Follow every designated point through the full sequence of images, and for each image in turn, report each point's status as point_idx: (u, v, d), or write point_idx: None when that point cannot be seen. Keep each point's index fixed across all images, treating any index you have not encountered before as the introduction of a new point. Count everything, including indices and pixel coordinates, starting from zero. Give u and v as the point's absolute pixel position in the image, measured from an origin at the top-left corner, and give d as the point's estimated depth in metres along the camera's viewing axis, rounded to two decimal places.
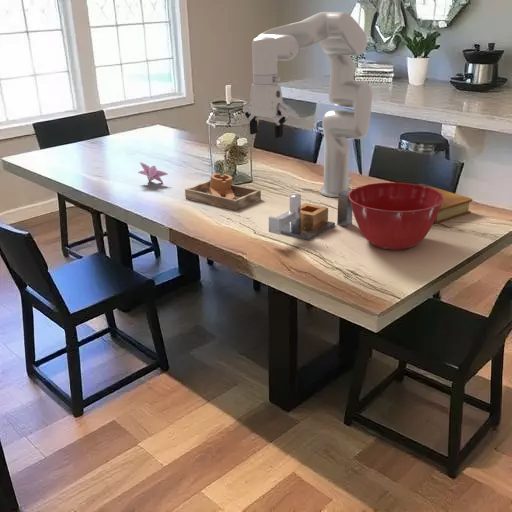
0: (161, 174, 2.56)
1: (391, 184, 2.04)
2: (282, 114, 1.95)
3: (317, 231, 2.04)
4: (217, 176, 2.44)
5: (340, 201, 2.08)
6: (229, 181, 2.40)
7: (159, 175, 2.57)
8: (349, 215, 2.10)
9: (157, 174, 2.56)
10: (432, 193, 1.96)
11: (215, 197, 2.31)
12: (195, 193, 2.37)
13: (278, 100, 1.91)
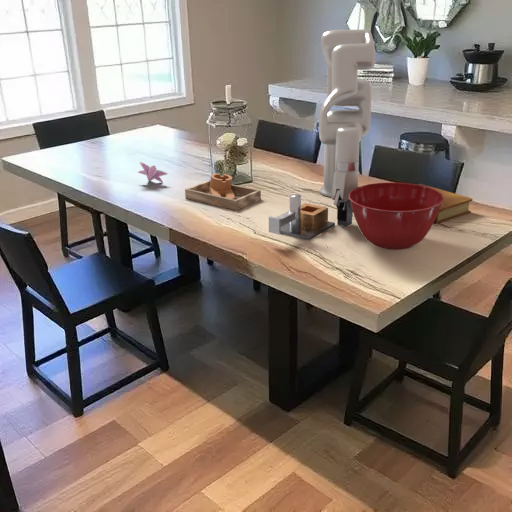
0: (161, 174, 2.57)
1: (391, 184, 2.04)
2: None
3: (317, 231, 2.04)
4: (217, 176, 2.44)
5: None
6: (229, 181, 2.40)
7: (159, 175, 2.57)
8: (349, 215, 2.09)
9: (157, 174, 2.57)
10: (432, 193, 1.96)
11: (215, 197, 2.31)
12: (195, 193, 2.37)
13: None
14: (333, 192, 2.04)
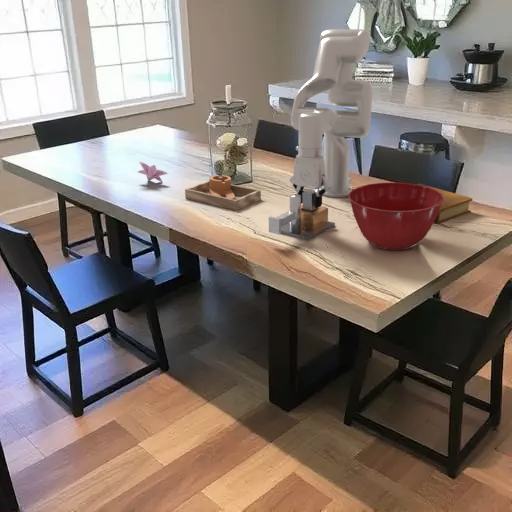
0: (161, 173, 2.57)
1: (391, 184, 2.04)
2: (293, 182, 2.06)
3: (317, 231, 2.04)
4: (216, 178, 2.44)
5: (313, 200, 2.06)
6: (228, 181, 2.40)
7: (159, 174, 2.58)
8: None
9: (157, 173, 2.57)
10: (432, 193, 1.96)
11: (215, 197, 2.31)
12: (195, 193, 2.37)
13: None
14: (320, 180, 2.00)
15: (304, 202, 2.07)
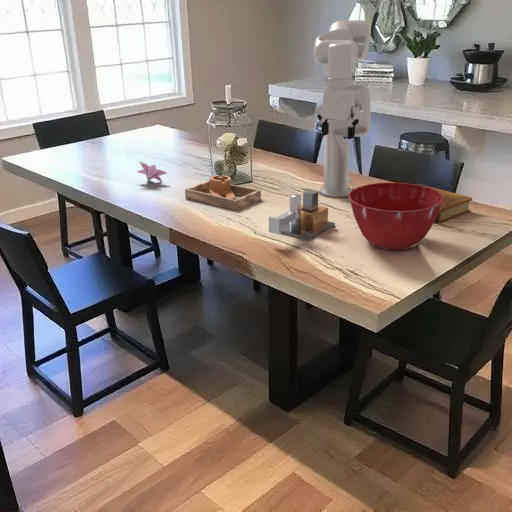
0: (160, 173, 2.58)
1: (391, 184, 2.04)
2: (322, 115, 2.05)
3: (317, 231, 2.04)
4: (216, 178, 2.44)
5: (313, 200, 2.06)
6: (228, 181, 2.40)
7: (158, 174, 2.58)
8: None
9: (156, 173, 2.58)
10: (432, 193, 1.96)
11: (215, 197, 2.31)
12: (195, 193, 2.37)
13: None
14: (349, 111, 1.99)
15: (304, 202, 2.07)
